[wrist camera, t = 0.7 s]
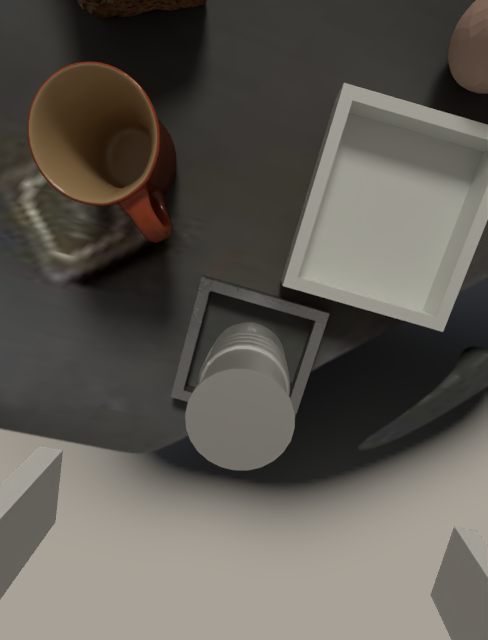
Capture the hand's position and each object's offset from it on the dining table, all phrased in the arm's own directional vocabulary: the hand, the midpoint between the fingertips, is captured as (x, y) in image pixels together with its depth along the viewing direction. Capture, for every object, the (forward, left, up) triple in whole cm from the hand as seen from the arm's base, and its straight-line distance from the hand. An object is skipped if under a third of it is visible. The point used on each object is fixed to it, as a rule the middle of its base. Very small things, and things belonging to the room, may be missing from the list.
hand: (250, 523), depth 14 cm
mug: (-14, +11, -27) cm, 32 cm away
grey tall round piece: (-1, -2, -27) cm, 27 cm away
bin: (+7, +13, -26) cm, 31 cm away
